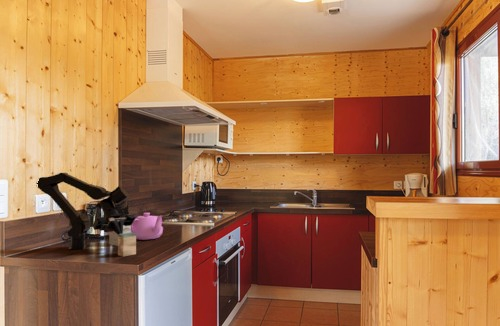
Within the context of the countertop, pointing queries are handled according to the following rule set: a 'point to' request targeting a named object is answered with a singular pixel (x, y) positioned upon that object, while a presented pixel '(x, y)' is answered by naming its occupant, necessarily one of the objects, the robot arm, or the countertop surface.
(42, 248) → the countertop surface
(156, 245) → the countertop surface
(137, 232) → the teapot
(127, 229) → the supplement box
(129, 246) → the birch block
